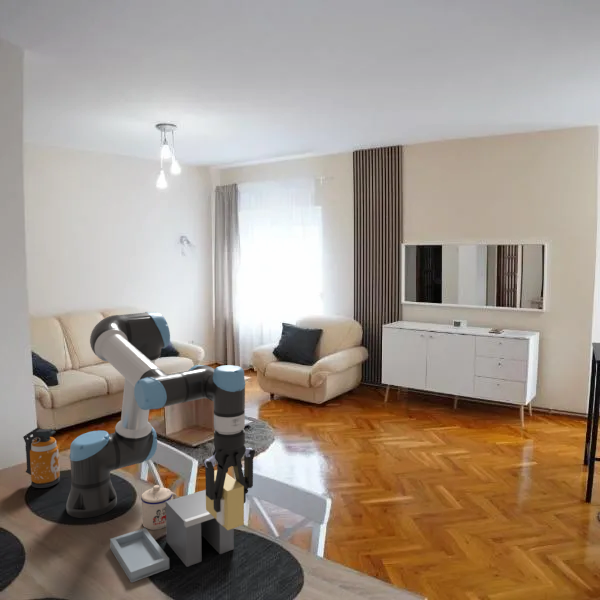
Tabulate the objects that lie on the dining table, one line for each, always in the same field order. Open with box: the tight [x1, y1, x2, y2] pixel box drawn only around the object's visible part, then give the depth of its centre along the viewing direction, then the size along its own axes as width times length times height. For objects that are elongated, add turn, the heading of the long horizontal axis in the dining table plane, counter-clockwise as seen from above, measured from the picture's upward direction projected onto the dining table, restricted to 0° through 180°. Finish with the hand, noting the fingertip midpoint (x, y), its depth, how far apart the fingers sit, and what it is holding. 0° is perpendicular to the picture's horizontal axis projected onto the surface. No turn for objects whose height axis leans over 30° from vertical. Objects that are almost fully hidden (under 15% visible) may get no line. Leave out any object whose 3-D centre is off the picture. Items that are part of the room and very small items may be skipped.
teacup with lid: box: [140, 484, 178, 531], centre depth 160 cm, size 12×9×12 cm
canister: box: [22, 427, 61, 489], centre depth 183 cm, size 9×11×20 cm
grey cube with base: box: [165, 489, 235, 567], centre depth 147 cm, size 14×14×13 cm
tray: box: [109, 527, 170, 583], centre depth 142 cm, size 18×10×3 cm, turn 36°
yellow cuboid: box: [206, 469, 245, 530], centre depth 133 cm, size 12×4×10 cm, turn 36°
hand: (229, 519), depth 131 cm, fingers closed on yellow cuboid, 4 cm apart
